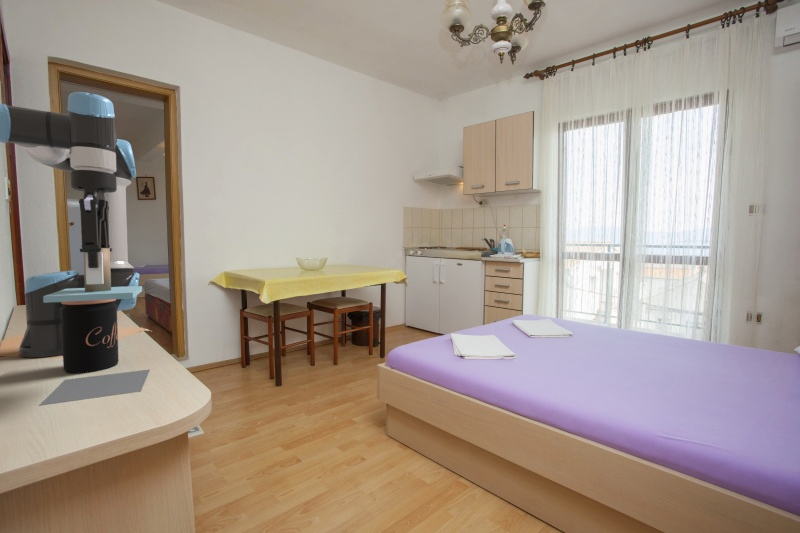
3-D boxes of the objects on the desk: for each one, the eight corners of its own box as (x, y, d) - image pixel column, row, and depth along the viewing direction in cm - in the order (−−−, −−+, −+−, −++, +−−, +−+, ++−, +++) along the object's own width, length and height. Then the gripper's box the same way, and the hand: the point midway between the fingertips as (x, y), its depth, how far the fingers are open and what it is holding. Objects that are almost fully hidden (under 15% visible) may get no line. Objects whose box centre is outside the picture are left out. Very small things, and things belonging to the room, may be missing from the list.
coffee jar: (88, 378, 89) (85, 301, 89) (51, 375, 92) (48, 300, 91) (129, 365, 100) (127, 295, 99) (95, 362, 102) (93, 294, 101)
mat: (65, 383, 86) (65, 379, 86) (150, 372, 94) (150, 369, 94) (38, 409, 72) (38, 405, 72) (141, 395, 79) (140, 391, 79)
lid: (66, 294, 85) (64, 247, 85) (142, 290, 92) (140, 248, 91) (43, 302, 73) (41, 248, 72) (132, 298, 79) (131, 248, 79)
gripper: (82, 176, 87) (86, 280, 88) (56, 162, 71) (62, 287, 73) (123, 179, 90) (126, 278, 92) (107, 166, 75) (111, 286, 76)
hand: (97, 282), depth 82 cm, fingers closed on lid, 4 cm apart
